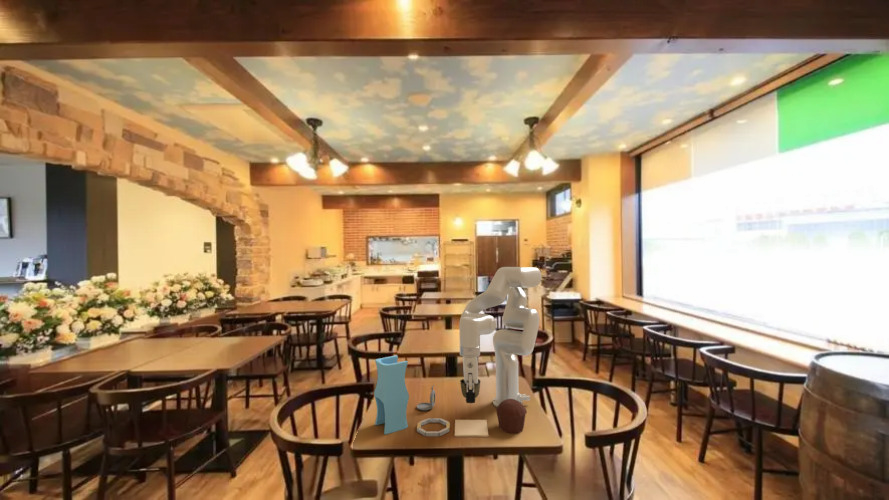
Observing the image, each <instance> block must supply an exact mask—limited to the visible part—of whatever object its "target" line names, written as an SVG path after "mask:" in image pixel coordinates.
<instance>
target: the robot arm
mask: <svg viewBox="0 0 889 500" xmlns="http://www.w3.org/2000/svg"><path fill="white" fill-rule="evenodd" d="M541 282H542V273H541V270H540V269H539V268H537V267H535V266H534V267H531V266H528V267H527V266H526V267H525V266H502V267H500V268H498V269H497V271H496V272H495V273H494V276H493V277H492V280H491V281H490V283H489V284H488V286H487V289H486V290H485V291H484V292H482V293H480V294H479V295H477V296H475V297H474V298H473V299H471V300H470V301H469V302H468V303H467V305H466V306H465V307H464V310H463V311H462V313H461V315H460V319H459V356H460V357H462V365H463V366H462V368H463V370H462V371H463V379H464V380H465V384H466V383H467V391H466V398H465V403H466V404H475V403H476V398H475V391H474V383H475V384H478V379H479V368H478V367H479V366H478V365H479V363H478V359H479V358H478V357H480V355H481V336H483V335H484V336H485V335H491V334H492V333H493V332H494V331H495V330H496V328H497V320H496V318H495V317H494V316H493V315H490V314H487V313H486V314H485V313H481V312H482V311H484V310H486V309H490V308H493V307H497V306H499V305H502V304H503V303H504V302H505V301H506V304H505V308H504V311H503V315H502V324H503V326H505V327H506V328H508V329H505V328H503V329H499V330H496V332H494V334H493V335H492V344H493V349H494V355H495V391H496V392H495V397H493V399H492V404H493V406H495V407H496V408H497V407H498V405H499V404H500V403H501V402H502V401H504V400H506V399H515V400H517V401H519V402H520V403H522V404H523V402H524V401H531V396H530V395H527V394H526V393H523V394H521V393H520V391H519V361H518V359H517V356H516V355H518V356H530V355H532V353H533V351H534V348H535V345H536V340H537V337H538V332H539V327H540V315H539V312H538V311H537V310H536V309H535V308H531V307H527V302H528V297H527V295H526V292H525V291H524V290H523V288H526V289H527V288H528V289H529V288H537V287H538V286H539V285H540V284H541ZM506 299H507V300H506ZM512 329H515V330H512ZM519 330H522V331H519ZM468 382H469V383H468ZM472 382H473V383H472ZM468 385H469V386H468ZM472 385H473V386H472Z"/></svg>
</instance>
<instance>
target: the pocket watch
mask: <svg viewBox="0 0 889 500" xmlns="http://www.w3.org/2000/svg"><path fill="white" fill-rule="evenodd" d="M430 389H431V391H430V395H429V402H421V403H418V404H416V409H417V410H420V411H429V410H431V409H432V408H433V407H434V406H435V404H436V391H435V390H434V384H433V385H432V386H431V388H430Z"/></svg>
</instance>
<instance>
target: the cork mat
mask: <svg viewBox="0 0 889 500" xmlns="http://www.w3.org/2000/svg"><path fill="white" fill-rule="evenodd" d="M454 420H455V423H454V437H457V438H458V437H459V438H460V437H461V438H462V437H464V438H465V437H467V438H470V437H474V438H475V437H478V438H479V437H480V438H482V437H483V438H484V437H485V438H486V437H487V438H488V437H489V431H488V430H489V429H488V423H487V422H488V421H487V419H454Z"/></svg>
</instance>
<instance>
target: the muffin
mask: <svg viewBox="0 0 889 500" xmlns="http://www.w3.org/2000/svg"><path fill="white" fill-rule="evenodd" d="M495 410H496V415H497V422H498V427H499V429H500V430H501V431H502V432H504V433H507V434H518V433H519V434H520V433H521V432H523V430H524V427H525V422H526V414H527V412H528V411H527V408H526V407H525V406H524V404H523V402H522V403H520V402H519V401H517V400H515V399H506V400H504V401H502V402H501V403H500V404H499V405H498V407H496V408H495Z"/></svg>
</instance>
